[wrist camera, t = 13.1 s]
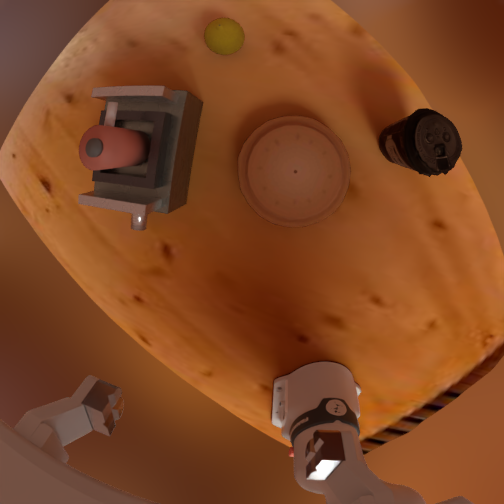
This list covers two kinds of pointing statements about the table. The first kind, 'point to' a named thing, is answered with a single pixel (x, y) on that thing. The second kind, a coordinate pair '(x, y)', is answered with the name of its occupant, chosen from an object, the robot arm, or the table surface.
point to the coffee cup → (422, 143)
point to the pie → (293, 171)
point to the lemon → (224, 36)
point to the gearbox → (160, 156)
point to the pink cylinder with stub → (113, 144)
